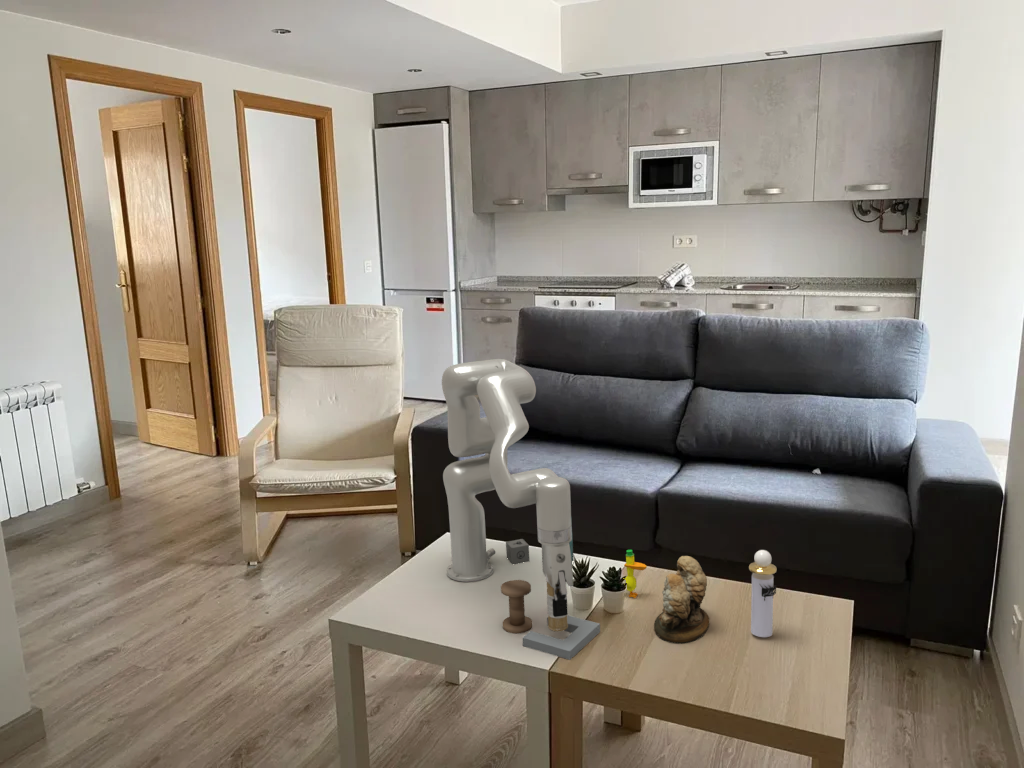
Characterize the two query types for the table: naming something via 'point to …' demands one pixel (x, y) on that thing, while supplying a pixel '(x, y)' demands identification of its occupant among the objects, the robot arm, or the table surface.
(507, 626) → the spool
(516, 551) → the dice cube
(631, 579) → the toy figure
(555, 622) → the sprinkles bottle
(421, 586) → the table surface
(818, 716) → the table surface
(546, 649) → the notched board
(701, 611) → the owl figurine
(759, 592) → the perfume bottle
